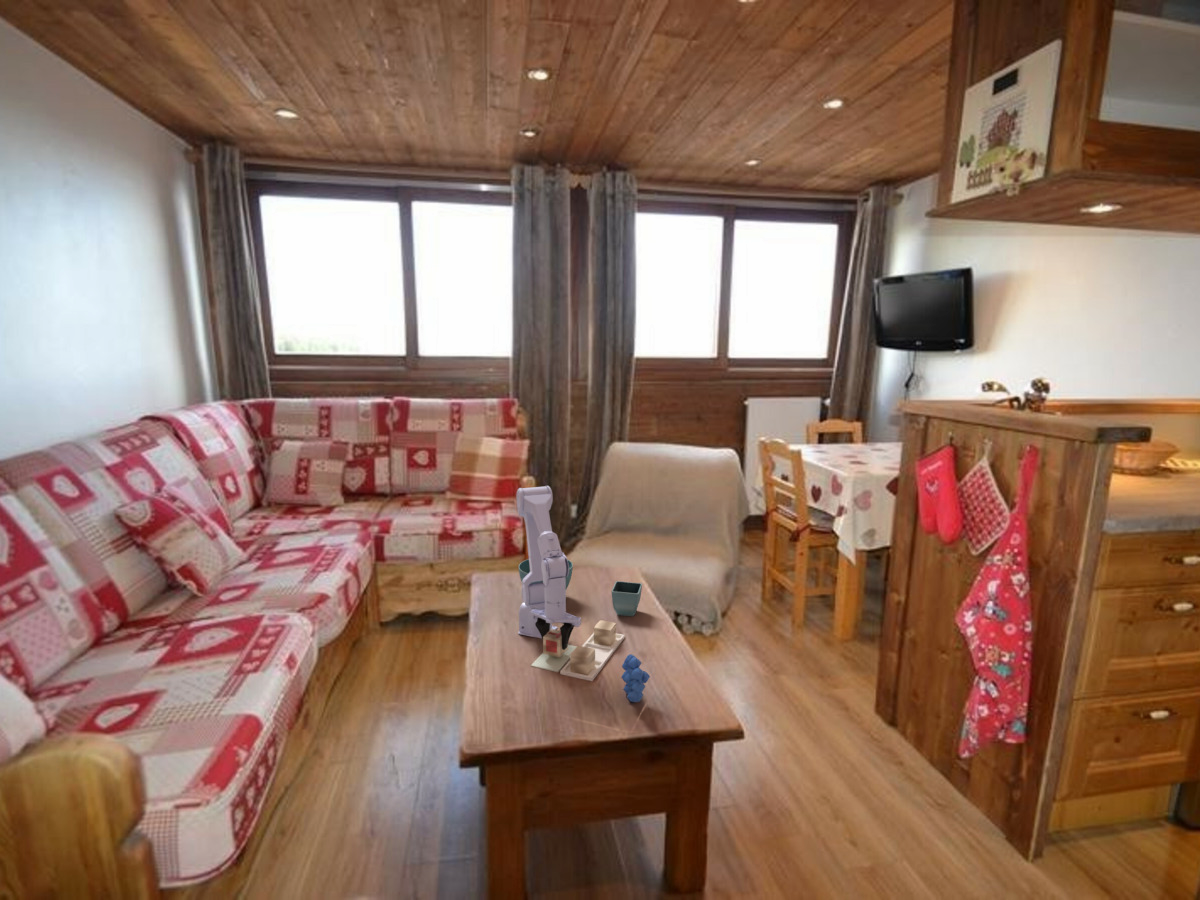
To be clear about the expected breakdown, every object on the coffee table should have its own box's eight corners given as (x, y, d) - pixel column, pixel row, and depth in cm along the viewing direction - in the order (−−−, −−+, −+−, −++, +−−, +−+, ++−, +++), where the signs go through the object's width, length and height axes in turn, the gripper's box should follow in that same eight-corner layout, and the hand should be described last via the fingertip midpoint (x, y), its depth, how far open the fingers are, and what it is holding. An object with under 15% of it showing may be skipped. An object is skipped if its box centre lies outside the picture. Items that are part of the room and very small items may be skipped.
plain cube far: (593, 643, 172) (593, 627, 171) (600, 636, 177) (600, 620, 176) (610, 646, 170) (610, 630, 169) (616, 639, 175) (616, 623, 174)
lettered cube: (543, 654, 163) (542, 636, 162) (551, 645, 168) (551, 628, 167) (559, 657, 161) (559, 639, 160) (567, 648, 166) (567, 631, 165)
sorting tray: (560, 675, 156) (560, 671, 156) (596, 633, 179) (596, 629, 179) (592, 682, 153) (592, 678, 153) (624, 638, 176) (624, 634, 176)
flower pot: (638, 620, 188) (638, 593, 186) (610, 618, 189) (611, 591, 188) (642, 608, 196) (642, 583, 195) (615, 606, 198) (615, 580, 196)
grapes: (657, 712, 140) (658, 665, 138) (630, 716, 139) (630, 669, 137) (642, 685, 151) (642, 641, 149) (616, 689, 150) (616, 644, 148)
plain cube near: (570, 671, 157) (570, 654, 156) (577, 662, 162) (577, 645, 161) (587, 675, 155) (587, 657, 154) (595, 666, 160) (595, 648, 159)
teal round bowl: (510, 606, 197) (509, 571, 195) (532, 586, 214) (531, 553, 212) (561, 614, 192) (561, 577, 190) (580, 592, 209) (580, 558, 207)
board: (530, 667, 160) (530, 665, 160) (553, 643, 173) (553, 641, 173) (557, 673, 157) (557, 671, 157) (579, 648, 170) (579, 646, 170)
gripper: (524, 601, 161) (525, 647, 163) (573, 609, 156) (573, 658, 158) (536, 591, 167) (537, 636, 170) (584, 599, 162) (584, 645, 164)
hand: (555, 646), depth 164 cm, fingers closed on lettered cube, 5 cm apart
